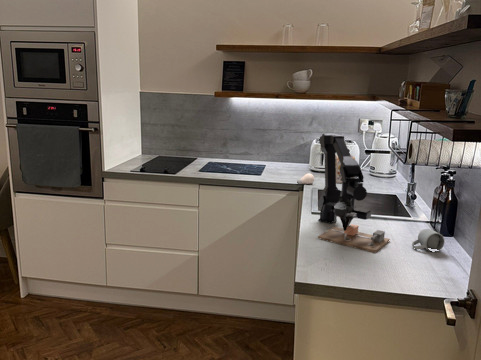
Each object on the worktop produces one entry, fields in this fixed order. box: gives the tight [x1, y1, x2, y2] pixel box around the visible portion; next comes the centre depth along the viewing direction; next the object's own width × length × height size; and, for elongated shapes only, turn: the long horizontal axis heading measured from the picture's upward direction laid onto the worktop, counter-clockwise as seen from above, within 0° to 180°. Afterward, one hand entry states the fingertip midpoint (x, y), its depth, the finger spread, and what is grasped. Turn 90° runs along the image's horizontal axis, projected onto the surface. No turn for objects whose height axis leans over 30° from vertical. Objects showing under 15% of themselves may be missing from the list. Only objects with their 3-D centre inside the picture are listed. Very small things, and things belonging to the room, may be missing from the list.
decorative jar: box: [335, 154, 356, 184], centre depth 294 cm, size 12×12×18 cm
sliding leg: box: [344, 223, 360, 238], centre depth 195 cm, size 3×10×3 cm, turn 145°
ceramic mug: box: [411, 228, 445, 252], centre depth 186 cm, size 11×8×8 cm
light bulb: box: [296, 172, 315, 185], centre depth 286 cm, size 7×7×11 cm
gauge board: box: [317, 225, 391, 253], centre depth 194 cm, size 24×16×4 cm, turn 55°
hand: (345, 230), depth 199 cm, fingers closed
